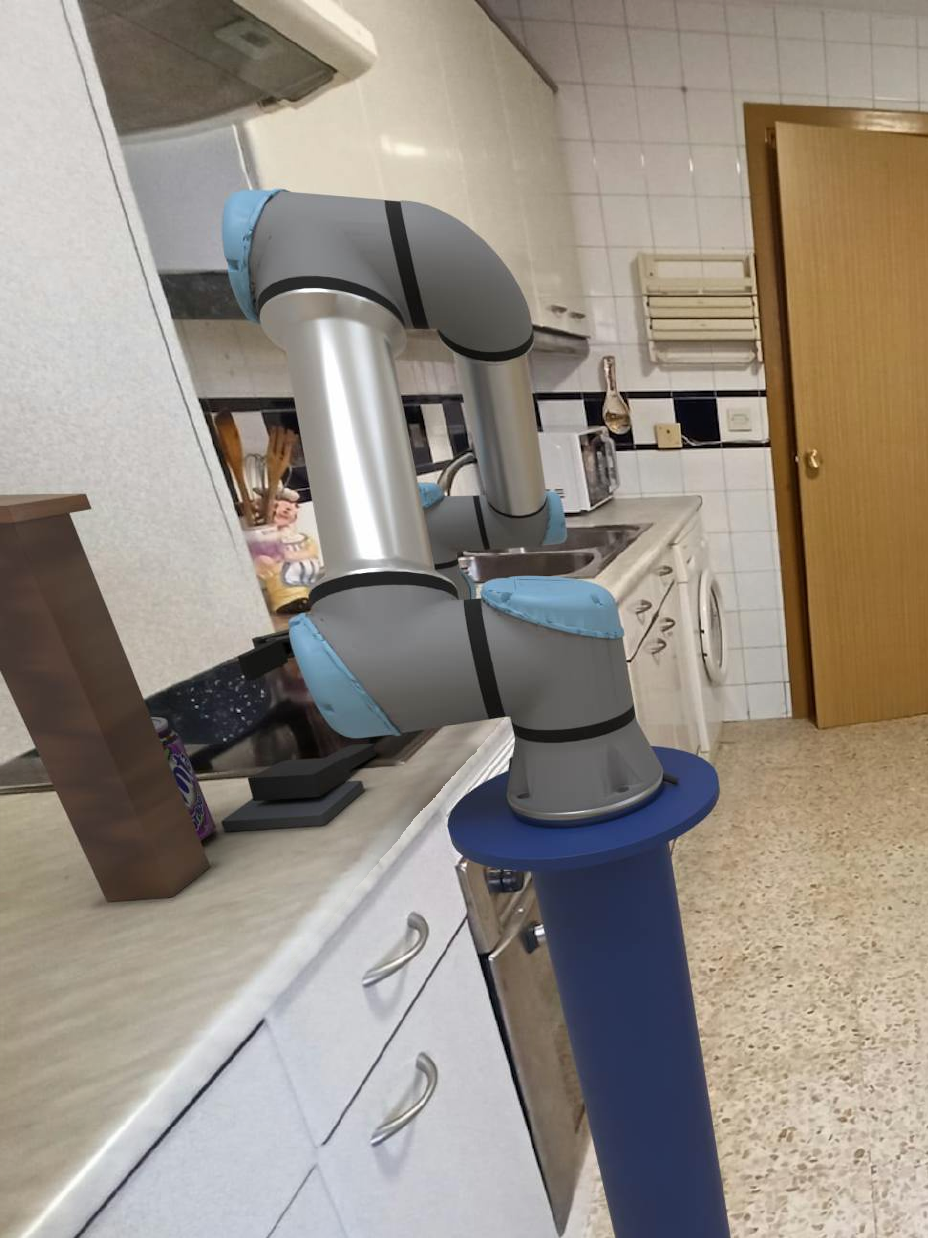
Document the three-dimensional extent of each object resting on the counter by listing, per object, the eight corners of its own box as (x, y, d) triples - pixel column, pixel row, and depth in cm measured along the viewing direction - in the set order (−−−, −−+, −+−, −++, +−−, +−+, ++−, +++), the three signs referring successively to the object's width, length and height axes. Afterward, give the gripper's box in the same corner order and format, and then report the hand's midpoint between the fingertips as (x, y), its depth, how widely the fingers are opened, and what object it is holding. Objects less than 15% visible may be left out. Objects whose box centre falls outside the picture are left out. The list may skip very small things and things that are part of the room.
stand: (227, 858, 79) (86, 493, 67) (174, 900, 73) (7, 505, 60) (155, 863, 78) (-3, 494, 66) (95, 906, 72) (-93, 507, 59)
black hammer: (392, 754, 101) (387, 734, 100) (318, 797, 87) (312, 774, 86) (336, 757, 100) (332, 737, 100) (253, 801, 86) (247, 777, 85)
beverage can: (135, 872, 77) (82, 751, 72) (107, 850, 80) (54, 734, 76) (230, 838, 83) (186, 724, 78) (200, 820, 86) (157, 709, 81)
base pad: (364, 790, 92) (361, 780, 92) (324, 825, 85) (321, 814, 85) (273, 795, 91) (269, 785, 91) (224, 832, 84) (220, 821, 83)
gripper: (511, 639, 115) (447, 692, 96) (308, 647, 111) (198, 704, 92) (500, 584, 112) (431, 627, 93) (290, 590, 108) (173, 637, 89)
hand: (314, 665), depth 92 cm, fingers open, 13 cm apart
